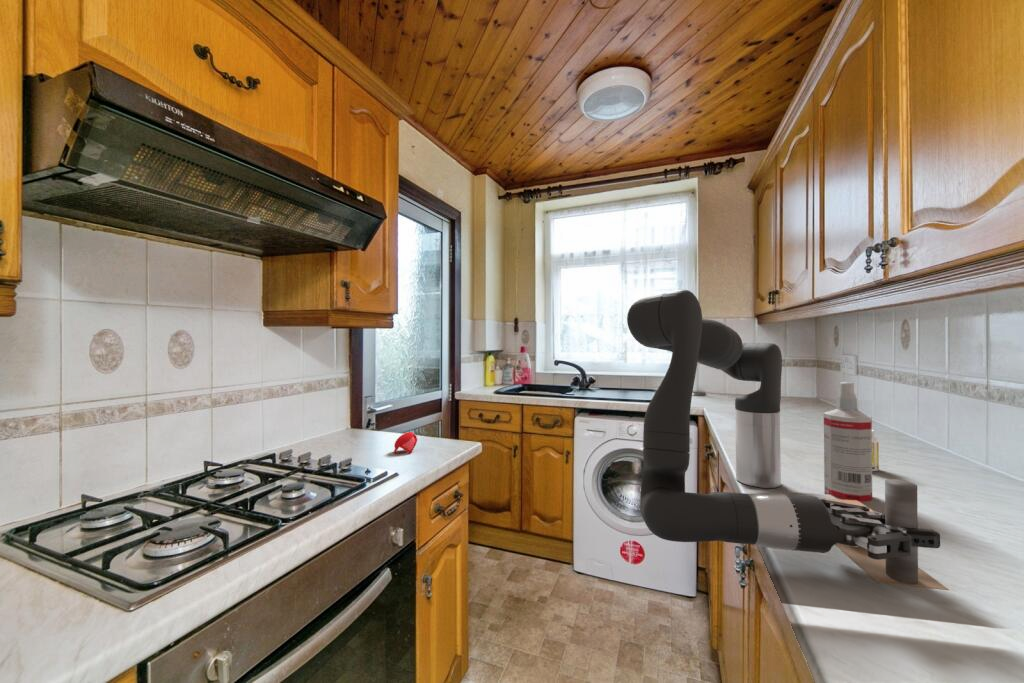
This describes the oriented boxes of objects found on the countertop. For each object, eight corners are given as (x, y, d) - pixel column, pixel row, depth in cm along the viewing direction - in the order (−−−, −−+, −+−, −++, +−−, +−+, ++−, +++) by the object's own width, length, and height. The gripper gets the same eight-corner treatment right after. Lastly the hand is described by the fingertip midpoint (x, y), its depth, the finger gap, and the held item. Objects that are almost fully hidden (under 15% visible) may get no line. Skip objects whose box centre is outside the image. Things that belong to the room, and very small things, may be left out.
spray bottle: (881, 510, 80) (880, 384, 79) (838, 507, 81) (837, 384, 81) (856, 494, 87) (855, 380, 87) (817, 492, 89) (816, 380, 89)
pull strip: (799, 519, 76) (798, 444, 76) (848, 522, 74) (848, 446, 74) (877, 591, 54) (876, 486, 54) (949, 598, 52) (948, 490, 52)
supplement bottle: (863, 464, 107) (863, 426, 107) (884, 471, 102) (884, 431, 102) (844, 465, 107) (844, 427, 107) (865, 472, 101) (864, 432, 101)
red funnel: (416, 437, 132) (400, 429, 131) (421, 434, 127) (404, 426, 126) (405, 460, 128) (388, 452, 127) (410, 458, 123) (392, 450, 122)
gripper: (807, 516, 52) (972, 528, 48) (765, 478, 65) (890, 485, 61) (808, 574, 52) (973, 591, 48) (765, 524, 65) (890, 534, 62)
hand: (925, 532), depth 55 cm, fingers closed on pull strip, 3 cm apart
